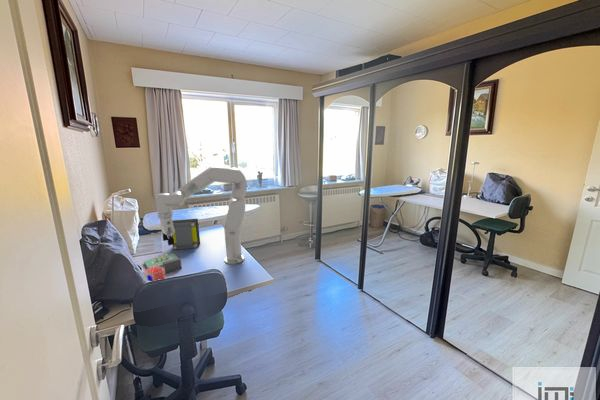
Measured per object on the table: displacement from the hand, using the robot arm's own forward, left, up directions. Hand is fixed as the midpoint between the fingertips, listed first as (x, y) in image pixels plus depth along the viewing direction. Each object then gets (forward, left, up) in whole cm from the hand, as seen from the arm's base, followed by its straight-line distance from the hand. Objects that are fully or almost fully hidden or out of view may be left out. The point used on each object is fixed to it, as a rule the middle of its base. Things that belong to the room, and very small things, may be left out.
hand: (168, 242), depth 156 cm
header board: (+15, +2, -18) cm, 23 cm away
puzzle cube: (-9, +12, -18) cm, 23 cm away
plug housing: (0, 0, -18) cm, 18 cm away
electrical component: (+31, -19, -18) cm, 41 cm away
